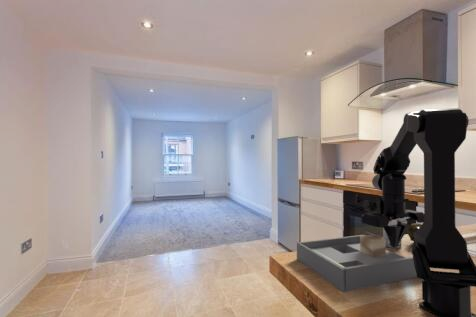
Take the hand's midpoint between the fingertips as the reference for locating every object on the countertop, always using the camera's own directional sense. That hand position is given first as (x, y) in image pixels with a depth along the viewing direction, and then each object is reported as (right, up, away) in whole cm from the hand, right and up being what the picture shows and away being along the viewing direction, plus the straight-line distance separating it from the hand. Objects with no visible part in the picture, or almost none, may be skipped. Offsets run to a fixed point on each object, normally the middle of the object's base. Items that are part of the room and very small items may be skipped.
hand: (394, 247), depth 72 cm
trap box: (-13, -4, -4) cm, 15 cm away
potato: (+18, -4, +13) cm, 23 cm away
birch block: (-8, -1, -2) cm, 8 cm away
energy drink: (+7, -4, +13) cm, 15 cm away
